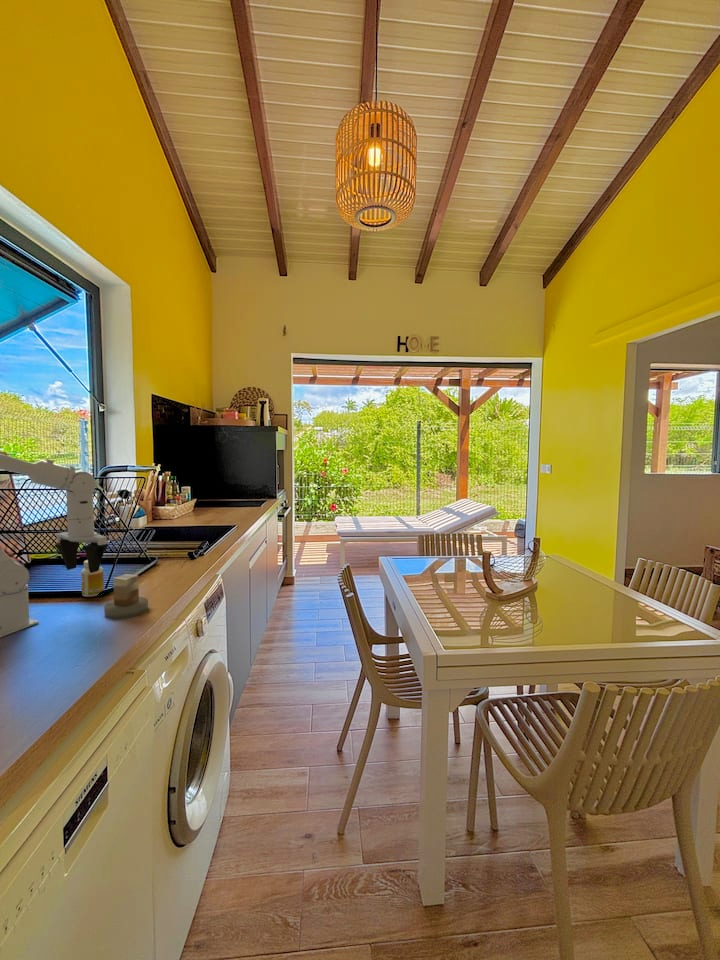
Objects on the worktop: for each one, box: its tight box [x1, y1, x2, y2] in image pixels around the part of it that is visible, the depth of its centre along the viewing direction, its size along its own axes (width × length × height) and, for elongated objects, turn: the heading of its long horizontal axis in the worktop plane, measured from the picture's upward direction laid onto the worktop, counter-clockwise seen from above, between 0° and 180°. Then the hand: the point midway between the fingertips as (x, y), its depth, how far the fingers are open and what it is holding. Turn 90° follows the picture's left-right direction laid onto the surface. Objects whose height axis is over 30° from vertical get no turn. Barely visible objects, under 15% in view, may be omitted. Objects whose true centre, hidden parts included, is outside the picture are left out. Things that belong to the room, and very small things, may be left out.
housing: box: [112, 573, 140, 607], centre depth 115 cm, size 4×4×7 cm
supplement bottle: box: [80, 559, 105, 598], centre depth 127 cm, size 5×5×10 cm
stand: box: [103, 596, 149, 619], centre depth 115 cm, size 10×10×2 cm
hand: (82, 570), depth 115 cm, fingers open, 7 cm apart
